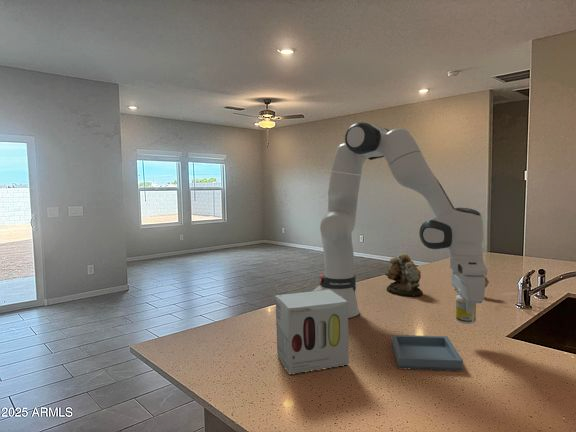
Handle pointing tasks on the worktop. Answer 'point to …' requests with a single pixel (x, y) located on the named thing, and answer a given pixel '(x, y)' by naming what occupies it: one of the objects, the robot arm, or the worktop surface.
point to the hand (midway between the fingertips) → (465, 308)
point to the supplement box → (312, 330)
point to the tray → (426, 353)
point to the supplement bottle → (461, 313)
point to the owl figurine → (404, 277)
